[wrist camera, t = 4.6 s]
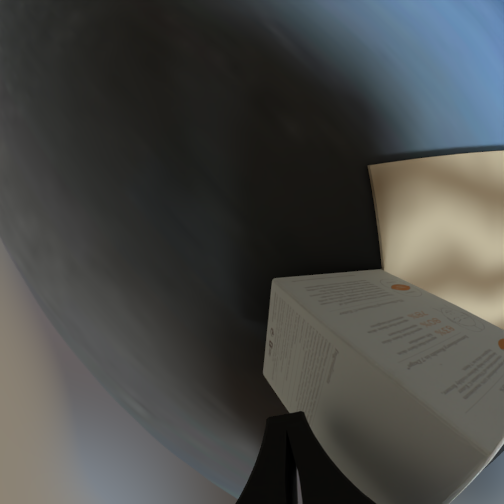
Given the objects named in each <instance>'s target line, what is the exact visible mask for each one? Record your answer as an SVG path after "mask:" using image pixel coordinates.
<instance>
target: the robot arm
mask: <svg viewBox="0 0 504 504" xmlns="http://www.w3.org/2000/svg"><path fill="white" fill-rule="evenodd" d="M236 504H376V503H375V502H374V501H373V500H371V499H370V498H369V497H367V496H366V495H365V494H364V493H363V492H361V491H360V490H359V489H358V488H357V487H356V486H355V485H354V484H353V483H352V482H351V481H350V480H349V479H348V478H347V477H346V476H345V475H344V474H343V473H342V472H341V471H340V469H339V468H338V467H337V466H336V465H335V463H334V462H333V461H332V460H331V458H330V457H329V456H328V455H327V453H326V452H325V450H324V449H323V447H322V446H321V444H320V443H319V441H318V440H317V438H316V437H315V435H314V433H313V431H312V430H311V428H310V426H309V423H308V421H307V419H306V416H305V412H303V411H299V412H294V413H289V414H284V415H279V416H273V417H269V418H268V419H267V421H266V428H265V433H264V437H263V441H262V445H261V448H260V451H259V454H258V457H257V460H256V463H255V466H254V468H253V470H252V473H251V475H250V477H249V479H248V482H247V484H246V486H245V488H244V490H243V492H242V493H241V495H240V497H239V499H238V500H237V502H236Z"/></svg>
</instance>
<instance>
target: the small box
mask: <svg viewBox="0 0 504 504" xmlns="http://www.w3.org/2000/svg"><path fill="white" fill-rule="evenodd" d="M263 375H264V376H265V378H266V379H267V381H268V383H269V384H270V385H271V387H272V388H273V390H274V391H275V393H276V394H277V396H278V397H279V399H280V400H281V401H282V403H283V404H284V406H285V407H286V409H287V410H288V412H289V413H294V412H299V411H303V412H305V416H306V419H307V421H308V423H309V426H310V428H311V430H312V431H313V433H314V435H315V437H316V438H317V440H318V441H319V443H320V444H321V446H322V447H323V449H324V450H325V452H326V453H327V455H328V456H329V457H330V458H331V460H332V461H333V462H334V463H335V465H336V466H337V467H338V468H339V469H340V471H341V472H342V473H343V474H344V475H345V476H346V477H347V478H348V479H349V480H350V481H351V482H352V483H353V484H354V485H355V486H356V487H357V488H358V489H359V490H360V491H361V492H363V493H364V494H365V495H366V496H367V497H369V498H370V499H371V500H373V501H374V502H375V503H376V504H449V503H450V502H451V501H453V500H454V499H455V498H456V497H457V496H458V495H459V494H460V493H461V492H462V491H463V490H464V489H465V488H466V487H467V486H468V485H469V484H470V483H471V482H472V481H473V480H474V479H475V478H476V477H477V476H478V474H479V473H480V472H481V471H482V470H483V469H484V468H485V467H486V465H487V464H488V463H489V462H490V461H491V459H492V458H493V457H494V456H495V454H496V453H497V452H498V451H499V449H500V448H501V447H502V445H503V444H504V330H503V329H501V328H499V327H497V326H495V325H493V324H491V323H489V322H488V321H486V320H484V319H482V318H480V317H478V316H476V315H474V314H472V313H470V312H468V311H466V310H464V309H462V308H460V307H458V306H457V305H454V304H452V303H450V302H448V301H446V300H444V299H442V298H440V297H438V296H436V295H434V294H432V293H429V292H427V291H425V290H423V289H421V288H419V287H417V286H415V285H413V284H411V283H409V282H407V281H405V280H403V279H401V278H398V277H396V276H394V275H392V274H390V273H388V272H386V271H384V270H382V269H376V270H364V271H353V272H342V273H330V274H318V275H306V276H294V277H282V278H274V279H273V280H272V286H271V296H270V306H269V317H268V327H267V337H266V347H265V358H264V367H263Z"/></svg>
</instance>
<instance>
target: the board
mask: <svg viewBox="0 0 504 504" xmlns="http://www.w3.org/2000/svg"><path fill="white" fill-rule="evenodd" d="M368 172H369V177H370V182H371V188H372V194H373V200H374V207H375V214H376V221H377V228H378V236H379V245H380V255H381V266H382V270H384V271H386V272H388V273H390V274H392V275H394V276H396V277H398V278H401V279H403V280H405V281H407V282H409V283H411V284H413V285H415V286H417V287H419V288H421V289H423V290H425V291H427V292H429V293H432V294H434V295H436V296H438V297H440V298H442V299H444V300H446V301H448V302H450V303H452V304H454V305H457V306H458V307H460V308H462V309H464V310H466V311H468V312H470V313H472V314H474V315H476V316H478V317H480V318H482V319H484V320H486V321H488V322H489V323H491V324H493V325H495V326H497V327H499V328H501V329H503V330H504V150H503V151H488V152H475V153H463V154H453V155H443V156H434V157H426V158H418V159H410V160H402V161H395V162H388V163H381V164H375V165H368Z"/></svg>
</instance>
